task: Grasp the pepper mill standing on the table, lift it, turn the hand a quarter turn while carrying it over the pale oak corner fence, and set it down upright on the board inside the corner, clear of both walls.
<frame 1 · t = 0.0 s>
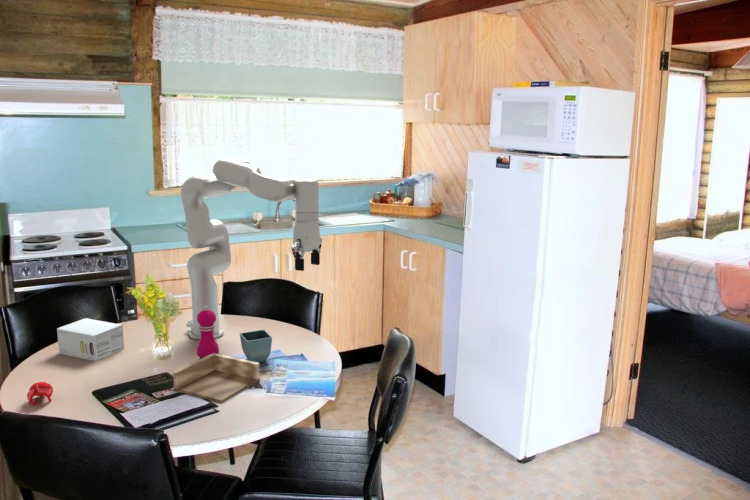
hand: (307, 267, 210), 31 cm above the table, tool pointing down, fingers open, 9 cm apart
supplement box: (92, 352, 217), on the table
corner fence: (217, 375, 190), on the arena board, point 3 cm above the table
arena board: (217, 385, 191), on the table
red curved piece: (41, 401, 179), on the table
pepper mill: (208, 364, 208), on the table
flower pot: (256, 360, 211), on the table
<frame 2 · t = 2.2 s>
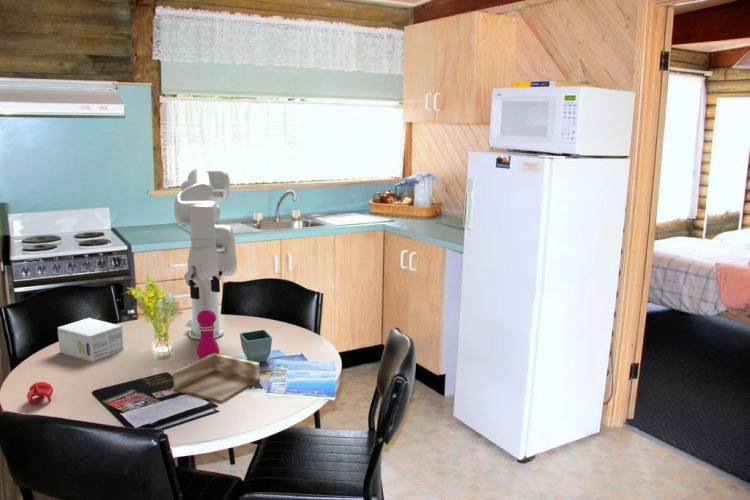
hand: (205, 295, 203), 24 cm above the table, tool pointing down, fingers open, 9 cm apart
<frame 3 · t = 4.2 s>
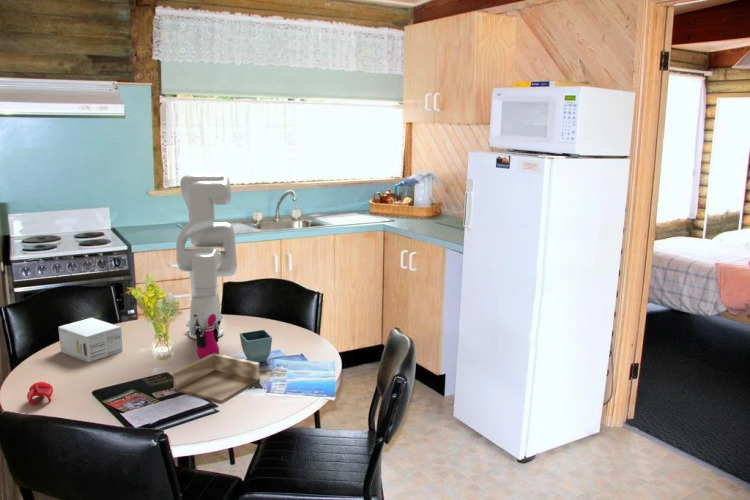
hand: (207, 343, 206), 7 cm above the table, tool pointing down, fingers closed on pepper mill, 5 cm apart
pepper mill: (208, 364, 208), on the table, touching gripper
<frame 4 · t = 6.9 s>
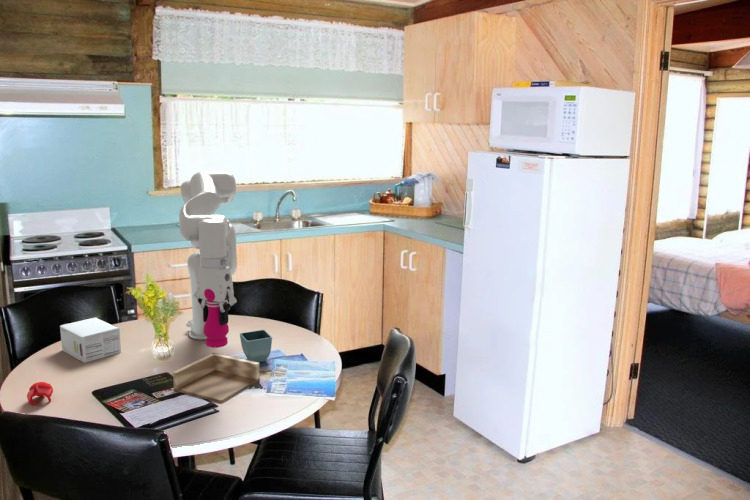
hand: (215, 321, 184), 21 cm above the table, tool pointing down, fingers closed on pepper mill, 5 cm apart
pepper mill: (216, 344, 186), point 14 cm above the table, touching gripper
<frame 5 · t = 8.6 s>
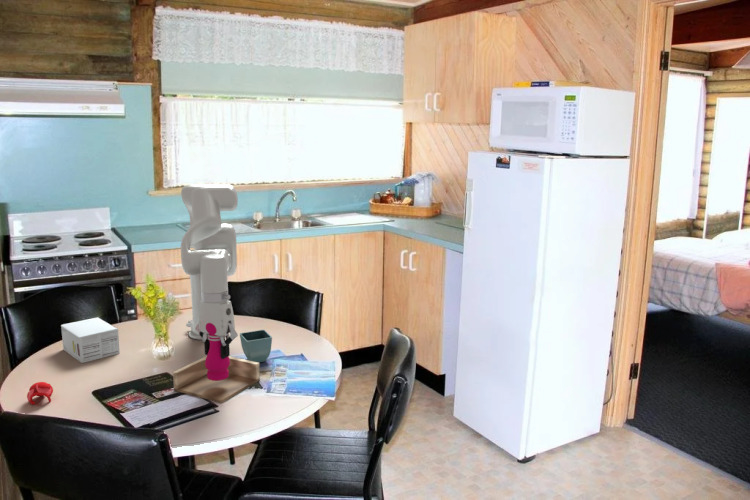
hand: (217, 354, 186), 11 cm above the table, tool pointing down, fingers closed on pepper mill, 5 cm apart
pepper mill: (218, 377, 188), point 4 cm above the table, touching gripper
when the fingers open (9 cm above the table, at t = 9.5 s): pepper mill stays where it is, resting on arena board.
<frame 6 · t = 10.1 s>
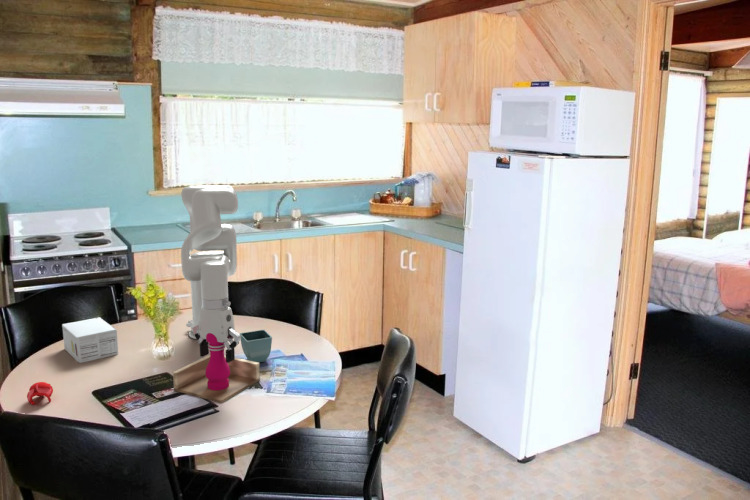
hand: (217, 358, 186), 10 cm above the table, tool pointing down, fingers open, 9 cm apart
pepper mill: (218, 386, 188), point 1 cm above the table, touching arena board
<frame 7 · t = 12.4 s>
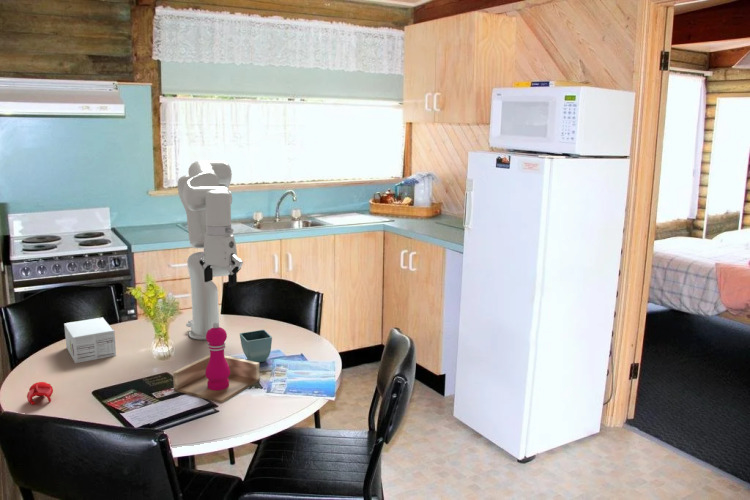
hand: (220, 283, 198), 29 cm above the table, tool pointing down, fingers open, 9 cm apart
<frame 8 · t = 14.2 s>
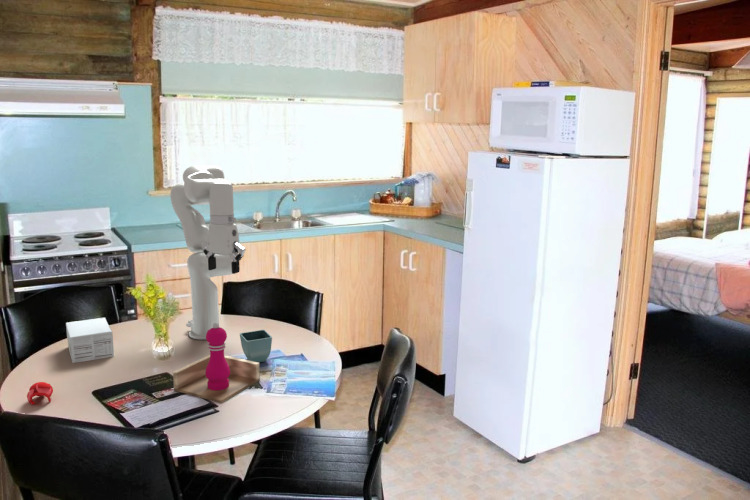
hand: (223, 271, 207), 30 cm above the table, tool pointing down, fingers open, 9 cm apart
at the end: pepper mill inside the target area on the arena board (1.2 cm from its centre), point 0.6 cm above the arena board's base; pepper mill tilted 0°; pepper mill touching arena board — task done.
